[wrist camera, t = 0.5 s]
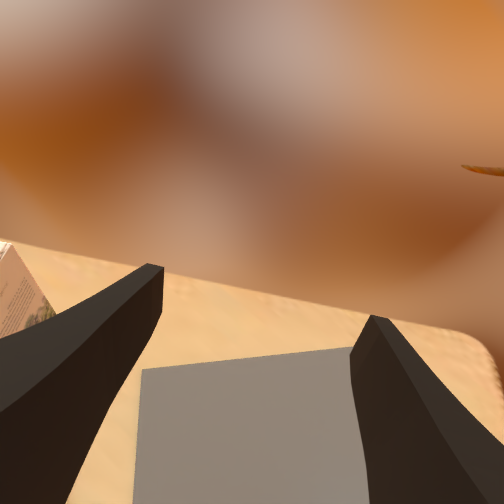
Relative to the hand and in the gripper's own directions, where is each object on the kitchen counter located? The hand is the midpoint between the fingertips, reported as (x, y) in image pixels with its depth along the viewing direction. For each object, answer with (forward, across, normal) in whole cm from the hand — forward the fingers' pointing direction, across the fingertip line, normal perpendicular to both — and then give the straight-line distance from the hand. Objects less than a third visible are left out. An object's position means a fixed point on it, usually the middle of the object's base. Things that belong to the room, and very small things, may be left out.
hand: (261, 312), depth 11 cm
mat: (+6, -5, +17) cm, 18 cm away
